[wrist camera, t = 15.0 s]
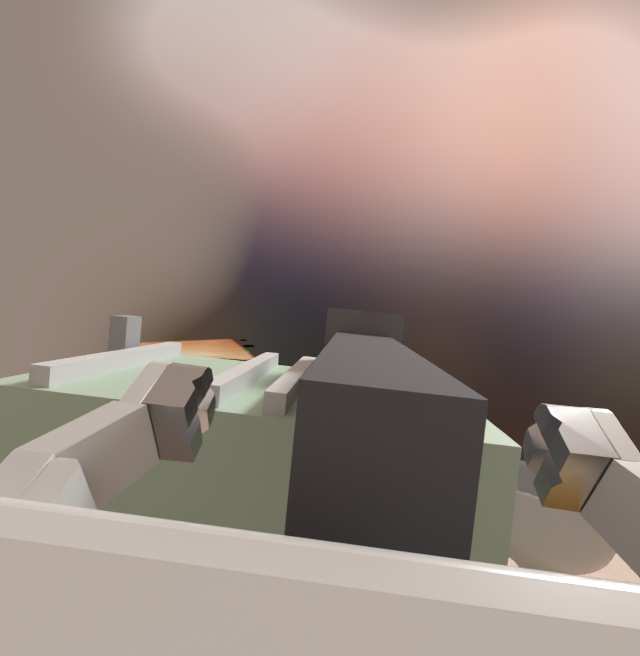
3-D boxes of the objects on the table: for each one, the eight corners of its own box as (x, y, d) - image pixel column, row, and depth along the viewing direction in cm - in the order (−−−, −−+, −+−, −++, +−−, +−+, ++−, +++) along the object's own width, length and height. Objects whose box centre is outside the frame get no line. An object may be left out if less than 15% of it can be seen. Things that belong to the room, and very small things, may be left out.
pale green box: (450, 1028, 19) (530, 375, 17) (-56, 917, 20) (-18, 316, 19) (405, 698, 35) (445, 345, 33) (123, 652, 36) (150, 314, 35)
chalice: (612, 617, 47) (630, 485, 47) (590, 695, 37) (613, 526, 36) (486, 559, 56) (499, 448, 56) (439, 609, 46) (455, 472, 45)
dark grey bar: (507, 591, 8) (540, 323, 8) (243, 553, 8) (267, 296, 8) (390, 379, 33) (396, 314, 33) (325, 372, 33) (331, 308, 33)
